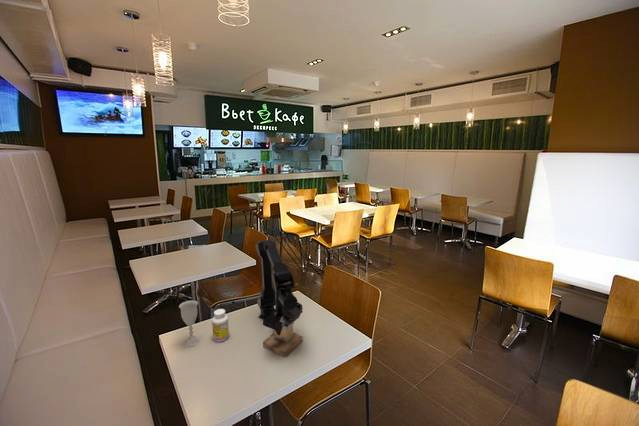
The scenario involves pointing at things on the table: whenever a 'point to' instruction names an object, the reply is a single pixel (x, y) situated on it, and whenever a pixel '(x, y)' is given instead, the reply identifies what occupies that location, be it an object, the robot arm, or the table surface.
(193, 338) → the chalice
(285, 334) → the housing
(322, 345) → the table surface
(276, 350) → the walnut stand
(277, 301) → the robot arm
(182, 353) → the table surface
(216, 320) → the supplement bottle
